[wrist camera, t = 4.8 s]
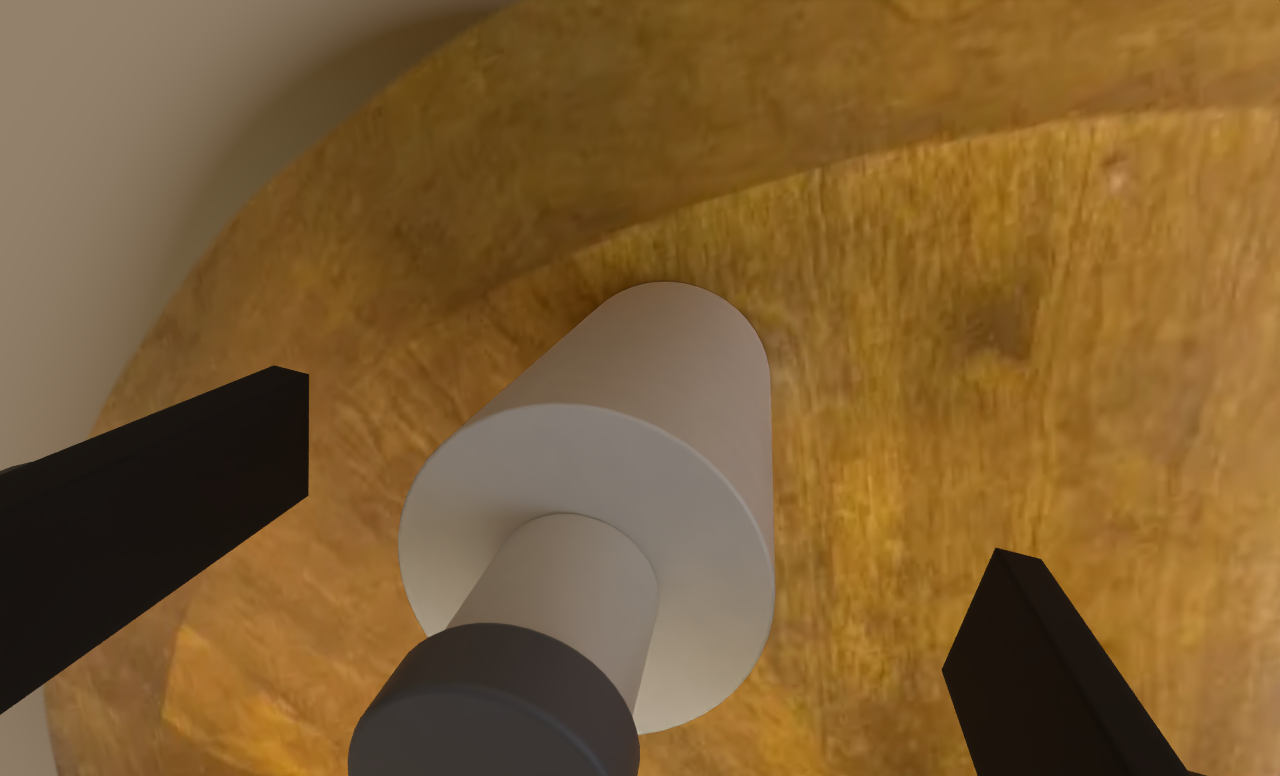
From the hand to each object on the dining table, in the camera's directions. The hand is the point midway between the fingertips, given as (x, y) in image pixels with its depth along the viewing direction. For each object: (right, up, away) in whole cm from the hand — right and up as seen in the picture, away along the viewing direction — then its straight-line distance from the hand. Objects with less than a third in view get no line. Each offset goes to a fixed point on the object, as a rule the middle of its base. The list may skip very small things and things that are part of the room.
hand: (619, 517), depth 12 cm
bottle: (+1, +3, +7) cm, 8 cm away
